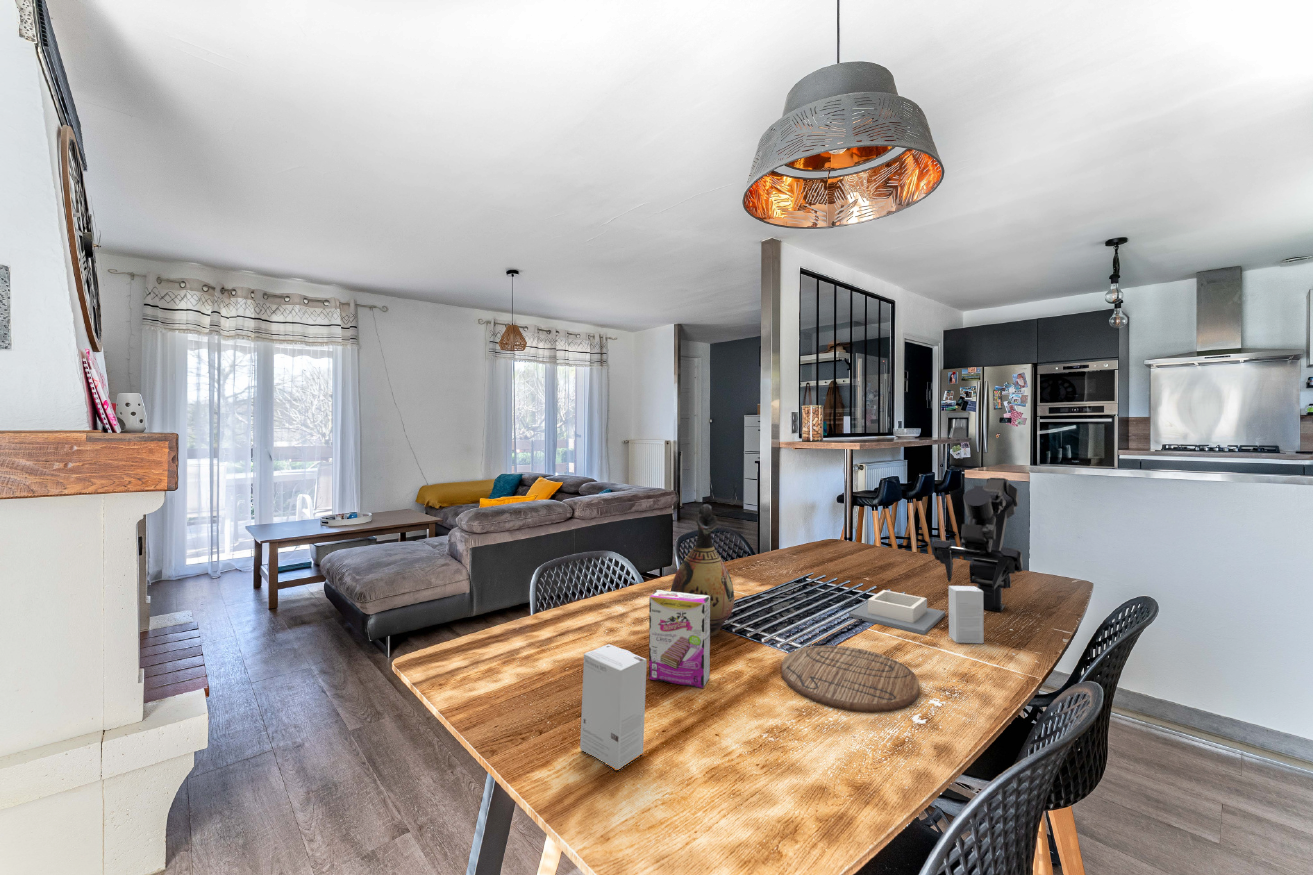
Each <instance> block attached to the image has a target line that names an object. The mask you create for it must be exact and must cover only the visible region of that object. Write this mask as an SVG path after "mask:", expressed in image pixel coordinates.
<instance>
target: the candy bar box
mask: <svg viewBox="0 0 1313 875" xmlns="http://www.w3.org/2000/svg"><path fill="white" fill-rule="evenodd" d="M648 602H649V603H648V604H649V606H648V608H649V610H648V611H649V614H648V615H649V617H648V620H649V621H648V623H649V625H648V626H649V627H648V630H649V632H648V638H649V641H648V644H649V645H648V647H649V648H648V650H649V651H648V652H649V653H648V679H649V680H652V681H657V682H663V681H664V682H665V683H671V684H675V685H681V686H688V687H694V688H699V689H700V688H701V689H704V688H705V686H706V684H707V682H708V681H709V679H710V677H711V676H710V672H711V668H710V664H711V663H710V661H711V660H710V657H711V656H710V655H711V653H710V652H711V650H710V649H711V648H710V647H711V636H710V596H707V595H699V594H690V593H681V592H673V591H671V590H662V589H656V590H655V591H654V592H653V593H652V594H650V596H649V601H648Z"/></svg>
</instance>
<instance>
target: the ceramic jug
mask: <svg viewBox="0 0 1313 875" xmlns="http://www.w3.org/2000/svg"><path fill="white" fill-rule="evenodd" d="M712 508H713V507H712V506H711V505H710V504H707V503H706V504H702V505H701V506H700V507H699V511H698V513H699V514H698V515H697V517H696V522H695V523H696V525H697V538H696V541H695V546H694V547H692V549H691V550H690V551H689V552H688V554H687V556H686V557H685V558H684V559H683V561H682V563H681V564H680V566H679V567H678V569H677V571H676V573H675V575H674V577H673V581H672V584H671V588H670V591H673V592H681V593H690V594H699V595H707V596H710V637H714V636H716V635H717V634H719V632H720V629H721V628H722V627H723V625H724V623H726V622H727V621H728V619H730V617H731V615H732V613H733V608H734V605H735V591H734V586H733V581H732V577H731V575H730V573H729V571H728V569H727V567H726V565H725V564H724V562H723V560H722V557H721V556H720V554H719V553H718V552H717V550H716V549H715V545H713V544H714V543H713V540H712V537H711V536H712V531H715V530H716V528H717V523H718V521H717V517H716V515H712V510H713V509H712Z"/></svg>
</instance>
